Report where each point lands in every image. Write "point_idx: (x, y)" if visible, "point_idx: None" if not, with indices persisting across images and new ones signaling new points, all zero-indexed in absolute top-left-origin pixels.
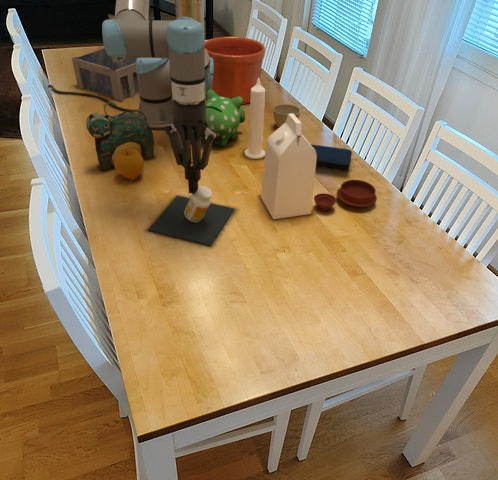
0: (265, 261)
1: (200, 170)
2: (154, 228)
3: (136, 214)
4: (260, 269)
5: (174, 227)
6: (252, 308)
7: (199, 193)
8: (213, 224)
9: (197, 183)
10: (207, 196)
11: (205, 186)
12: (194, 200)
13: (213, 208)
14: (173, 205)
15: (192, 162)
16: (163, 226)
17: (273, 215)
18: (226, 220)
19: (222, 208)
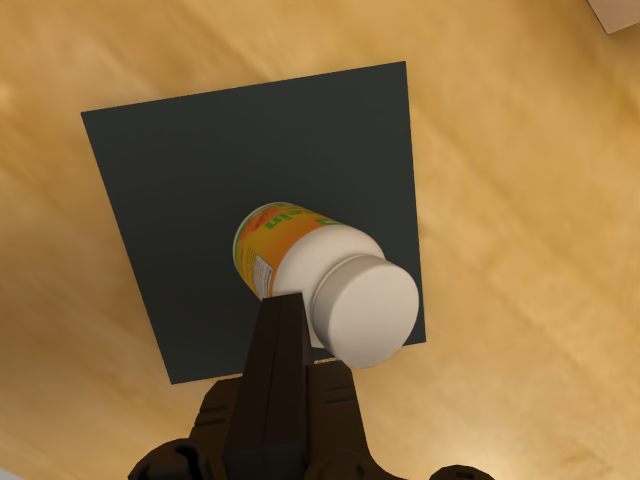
0: (630, 309)
1: (365, 436)
2: (187, 369)
3: (50, 324)
4: (622, 349)
5: (248, 327)
6: (633, 476)
7: (361, 366)
8: (377, 232)
9: (303, 323)
10: (406, 330)
11: (355, 278)
12: (323, 347)
13: (313, 119)
14: (133, 201)
15: (208, 477)
16: (207, 343)
17: (624, 25)
18: (413, 175)
19: (352, 94)
